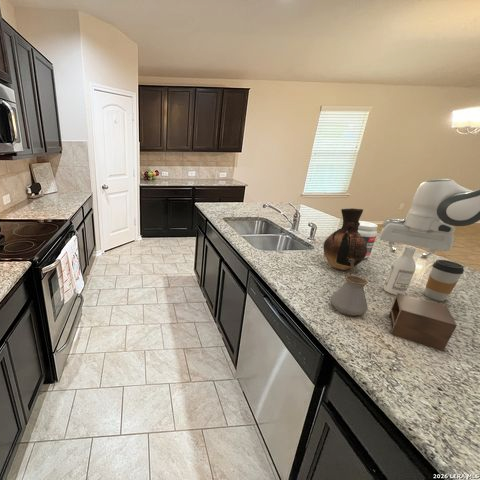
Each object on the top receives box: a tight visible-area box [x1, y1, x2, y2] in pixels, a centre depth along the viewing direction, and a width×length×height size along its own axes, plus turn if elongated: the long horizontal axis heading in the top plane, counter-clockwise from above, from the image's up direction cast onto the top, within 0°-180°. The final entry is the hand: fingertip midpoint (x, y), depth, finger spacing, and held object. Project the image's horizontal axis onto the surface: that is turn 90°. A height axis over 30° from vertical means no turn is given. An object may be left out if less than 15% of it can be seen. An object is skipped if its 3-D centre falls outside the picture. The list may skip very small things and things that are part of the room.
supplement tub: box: [358, 220, 379, 260], centre depth 138 cm, size 13×13×18 cm
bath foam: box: [383, 246, 417, 296], centre depth 103 cm, size 7×7×20 cm
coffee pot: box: [329, 259, 369, 317], centre depth 96 cm, size 21×12×15 cm, turn 150°
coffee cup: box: [423, 259, 465, 302], centre depth 100 cm, size 8×8×15 cm
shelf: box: [387, 293, 458, 352], centre depth 82 cm, size 12×12×10 cm
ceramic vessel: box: [323, 207, 367, 271], centre depth 122 cm, size 21×18×30 cm
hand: (407, 255), depth 100 cm, fingers open, 8 cm apart
